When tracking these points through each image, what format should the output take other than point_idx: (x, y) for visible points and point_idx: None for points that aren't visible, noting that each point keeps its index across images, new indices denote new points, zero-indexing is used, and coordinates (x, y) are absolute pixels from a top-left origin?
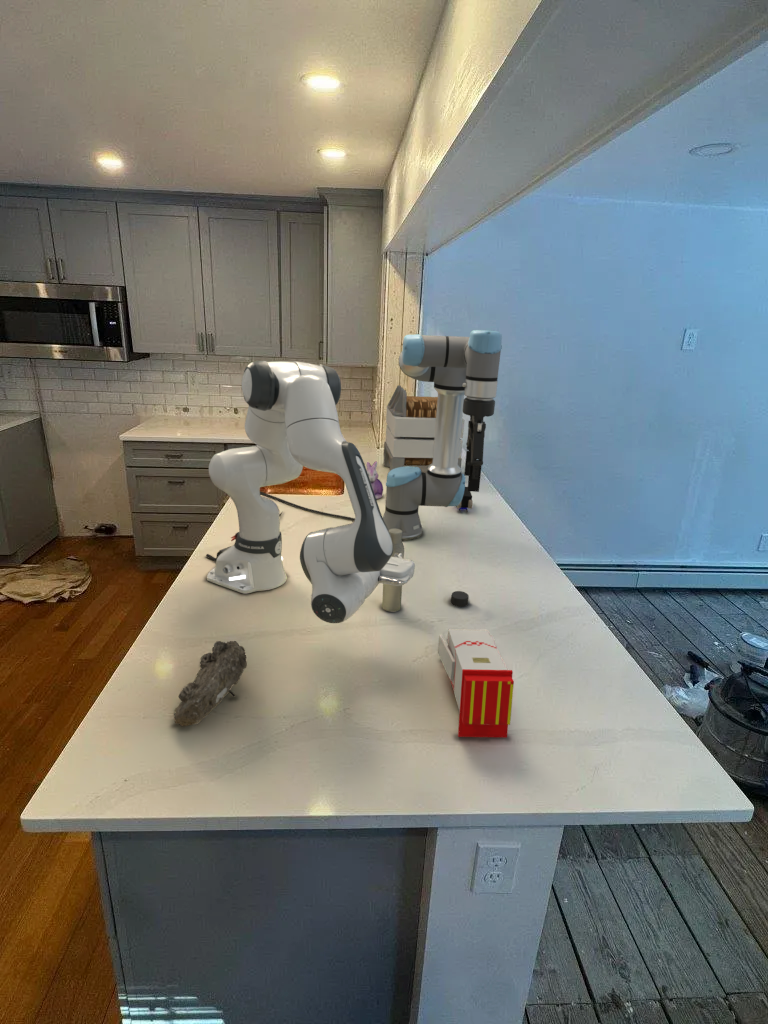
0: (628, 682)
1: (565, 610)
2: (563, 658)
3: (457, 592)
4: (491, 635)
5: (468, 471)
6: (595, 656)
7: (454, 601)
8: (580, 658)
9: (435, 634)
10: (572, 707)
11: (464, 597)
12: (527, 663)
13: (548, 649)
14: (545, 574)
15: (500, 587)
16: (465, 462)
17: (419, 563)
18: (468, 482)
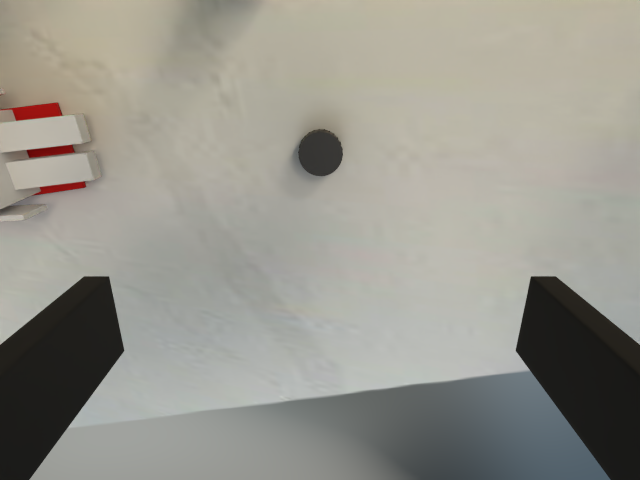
0: (108, 404)
1: (323, 364)
2: (146, 329)
3: (333, 148)
4: (21, 216)
5: (545, 324)
6: (168, 377)
7: (304, 138)
8: (155, 354)
9: (160, 87)
10: (8, 316)
11: (309, 165)
12: (109, 268)
13: (168, 310)
14: (486, 356)
15: (413, 254)
16: (628, 342)
17: (557, 36)
18: (37, 315)
